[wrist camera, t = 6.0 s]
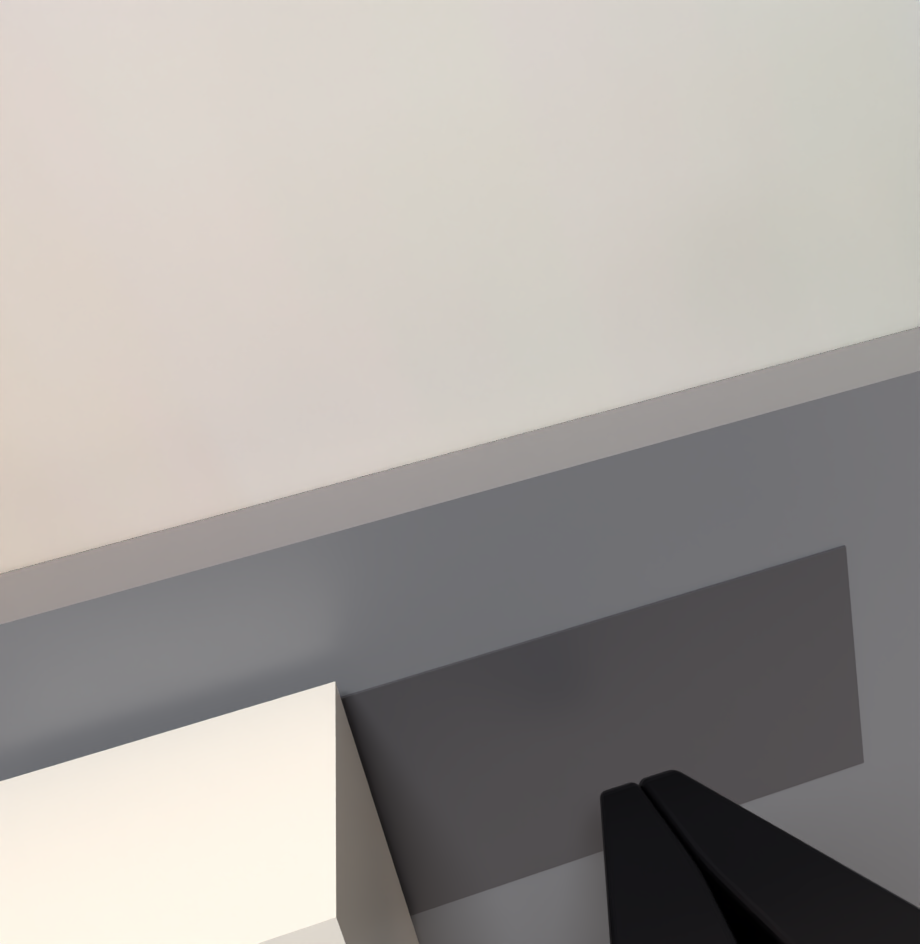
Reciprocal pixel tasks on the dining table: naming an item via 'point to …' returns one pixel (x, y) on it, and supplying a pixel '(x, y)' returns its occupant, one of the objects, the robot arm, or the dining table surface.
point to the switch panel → (544, 635)
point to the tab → (205, 838)
